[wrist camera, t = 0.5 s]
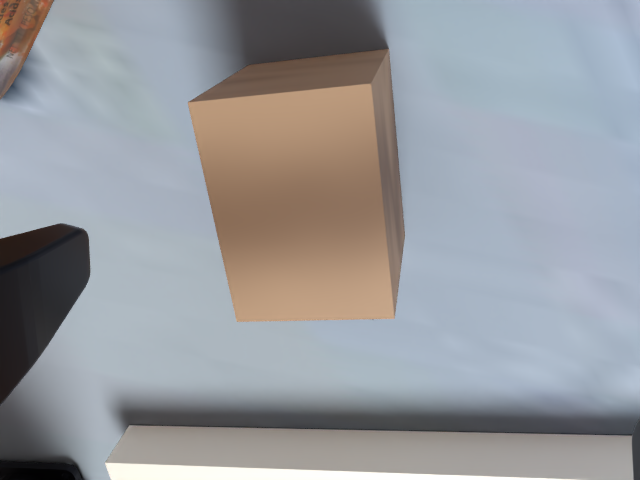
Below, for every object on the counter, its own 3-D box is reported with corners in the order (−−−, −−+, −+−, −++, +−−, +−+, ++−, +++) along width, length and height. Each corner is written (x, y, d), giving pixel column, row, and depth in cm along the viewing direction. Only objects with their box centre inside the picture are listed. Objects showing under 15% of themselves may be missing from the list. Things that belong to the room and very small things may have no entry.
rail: (138, 454, 31) (115, 492, 29) (129, 425, 31) (104, 462, 28) (648, 470, 26) (667, 518, 24) (652, 436, 25) (672, 482, 23)
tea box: (404, 234, 24) (394, 318, 18) (277, 240, 25) (232, 321, 19) (389, 48, 21) (371, 83, 15) (245, 64, 22) (182, 103, 17)
